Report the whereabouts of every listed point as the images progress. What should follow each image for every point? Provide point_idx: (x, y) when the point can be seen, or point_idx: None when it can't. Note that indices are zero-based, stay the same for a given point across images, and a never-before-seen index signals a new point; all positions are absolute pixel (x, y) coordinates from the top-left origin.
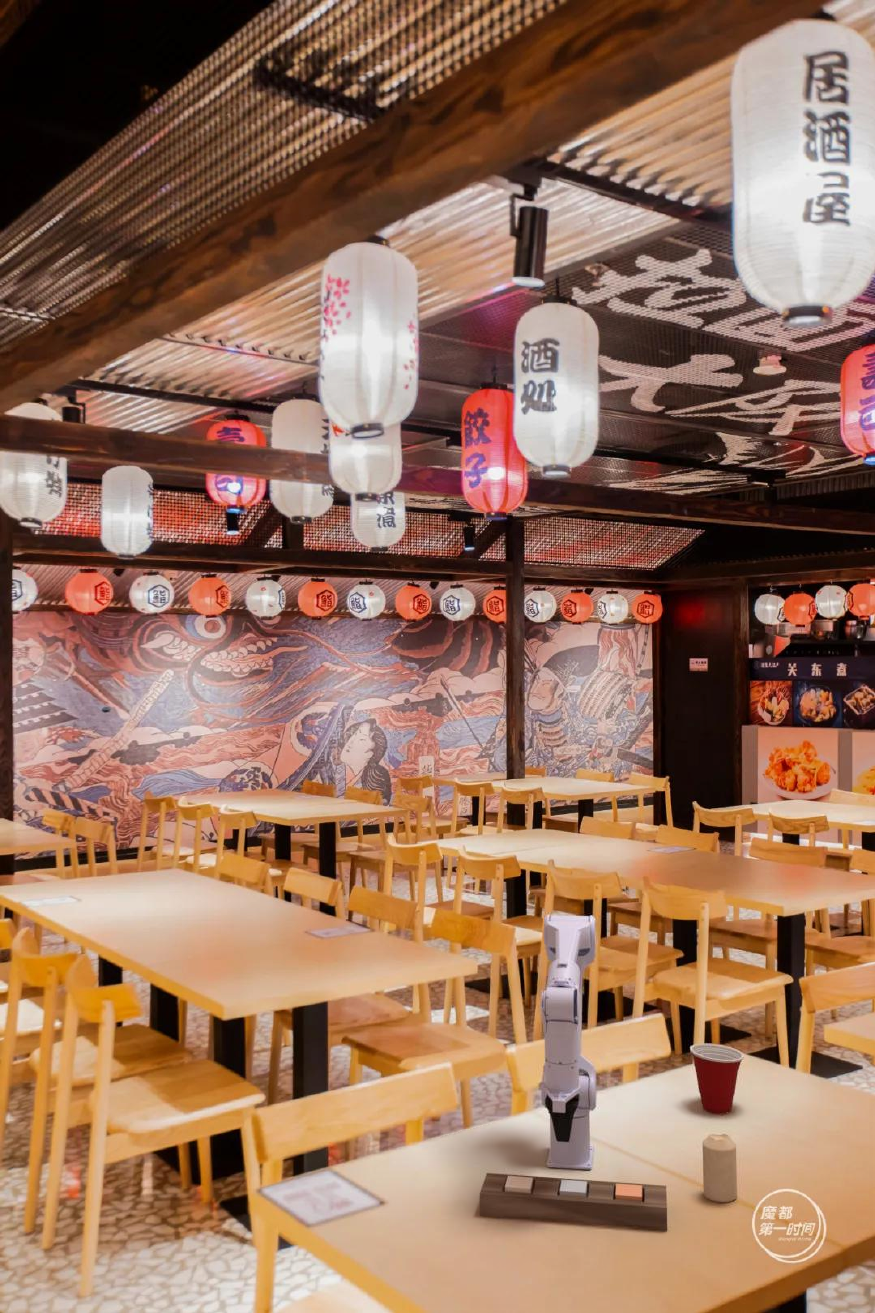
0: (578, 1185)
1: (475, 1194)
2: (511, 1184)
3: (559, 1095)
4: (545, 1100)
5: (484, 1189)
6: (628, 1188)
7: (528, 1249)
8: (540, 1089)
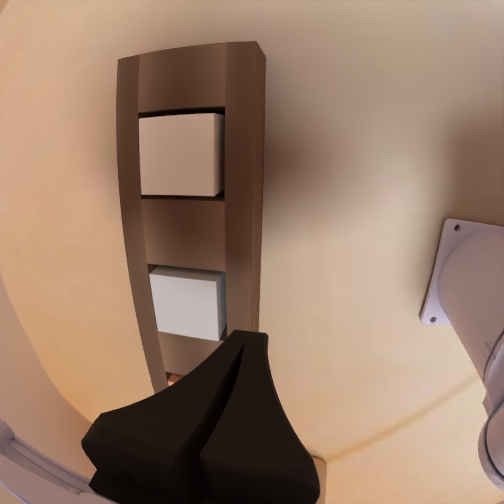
0: (190, 320)
1: (259, 29)
2: (155, 135)
3: (19, 498)
4: (103, 447)
5: (142, 62)
6: None
7: (55, 195)
8: (80, 499)
